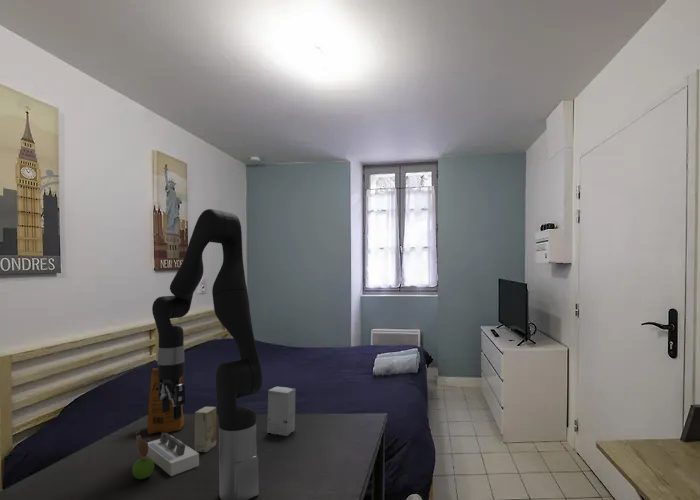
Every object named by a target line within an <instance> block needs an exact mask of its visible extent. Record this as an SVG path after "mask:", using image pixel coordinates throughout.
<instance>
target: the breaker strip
mask: <svg viewBox="0 0 700 500" xmlns="http://www.w3.org/2000/svg"><path fill="white" fill-rule="evenodd" d="M170 436H171V437H173V438H175V437H174V436H172V435H170ZM144 440H146V441H147V443H148V453H147V456H148V457H149V458H151V459H152V460H153V462H154V464H155V465H157V466H158V467H160V469H162V471H164V472H166V473H167V474H168V475H169V476H170V477H173V476H176V475H179V474H181V473H184V472H187V471H189V470H191V469H194V468H197V467H200V453H199V452H196V451H195V449H193V448H191V447H190V446H188V445H186V444H185V443H183V442H182V441H181V440H179V439H177V440H178V441H179V442H181V443H183V444H185V451H184V454H177V453H176V448H177V446H176V447H175V448H169V447H167V446H168V442H166V443H162V442H160V438H158V439H155V440H151V439H150V438H149V437H146V438H145V439H144ZM168 441H169V440H168Z"/></svg>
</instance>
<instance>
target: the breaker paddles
mask: <svg viewBox="0 0 700 500" xmlns="http://www.w3.org/2000/svg"><path fill="white" fill-rule="evenodd" d="M160 433H161V434H160V438H159V439H160V442H162V443H166V442H168V446H167V447H169V448H175V447H176V446H177V448H176V453H177V454H184V451H185V445H186V444H185V443H184V444H183V442H182V441H180V440H179V439H177V438H176V437H174V436H173V437H174V438H173V437H171V436H172V435H170V434H169V432H168V433H162V432H160ZM168 440H169V441H168ZM178 440H179V441H180V442H179V441H178ZM181 442H182V443H181Z"/></svg>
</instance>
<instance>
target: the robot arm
mask: <svg viewBox="0 0 700 500" xmlns="http://www.w3.org/2000/svg"><path fill="white" fill-rule="evenodd" d="M242 236H243V233H242V224H241V221H240V219H239V216H237V214H235V213H233V212H229V211H223V210H219V209H213V208H208V209H205V210H203V211H202V212H201V214H200V215H199V216H198V218H197V221H196V223H195V225H194V228H193V231H192V233H191V236H190V238H189V242H188V245H187V248H186V251H185V255H184V257H183V260H182V262H181V264H180V265H179V268H178V270H177V272H176V273H175V275H174V278H173V279H172V281H171V283H170V285H169V290H170V293H171V294H172V295H167V296H166V295H165V296H158V297H157V298H156V299H154V301H153V303H152V309H151V310H152V311H151V312H152V315H153V319H154V322H155V326H156V329H157V332H158V349H157V350H158V351H157V369H158V378H159V383H158V396H159V397H160V399H161V400H162V412H163V413H165V412H169V411H170V400H171V401H172V404H173V419H179V418H181V405H182V404H183V405H185V404H186V385H185V383H184V382H183V384H180V382H179V378H180V377H182V376H183V377H184V376H185V348H184V347H185V346H184V341H185V340H184V329H183V328H182V326H178V325H173V324H172V322H171V319H181V318H182V317H185V316H186V315H187V314H188V313H189V311H190V309H191V305H192V300H193V298H194V293H195V292H196V289H197V288H198V286H199V284H200V282H201V280H202V279H203V276H204V263H203V254H204V250H205V249H206V248H207V246H208V244H210V243H213V244H214V243H215V244H221V247H222V256H223V257H222V264H221V266H220V270H219V271H218V274H216V277H215V278H214V279H215V280H214V283H213V285H212V288H211V289H212V290H211V292H212V293H211V295H212V302H213V310H214V314H215V316H216V318H217V320H218V321H219V323H220V324H221V325H222V326H223V327H224V329H225V330H226V331H227V332H228V334H229V335H230V336H231V337H232V338H233V340H234V342H235V344H236V346H237V348H238V352H239V356H240V359H239V360H232V361H226V362H223V363H220V364H219V365H218V366H217V368H216V374H215V390H216V392H215V393H216V413H217V418H218V475H219V476H218V477H219V479H218V480H219V481H218V482H219V483H218V484H219V485H218V486H219V489H218V490H219V491H218V492H219V494H218V495H219V499H220V500H251V499H252V498H255V497H257V496H259V491H260V490H259V488H260V487H259V486H260V485H259V456H258V455H257V412H256V410H254V409H253V408H250V407H247V406H246V407H245V406H238V404H237V399H239V398H244V397H247V396H250V395H255V394H257V393H259V392H260V391H261V389H262V386H263V372H262V366H261V362H260V356H259V353H258V349H257V345H256V339H255V335H254V329H253V323H252V318H251V317H252V316H251V310H250V301H249V300H250V299H249V295H248V294H249V293H248V287H247V281H246V276H245V275H246V274H245V266H244V259H243V258H244V257H243V255H244V254H243V237H242ZM181 396H182V398H181ZM168 398H169V399H168ZM178 400H179V401H178Z"/></svg>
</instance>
